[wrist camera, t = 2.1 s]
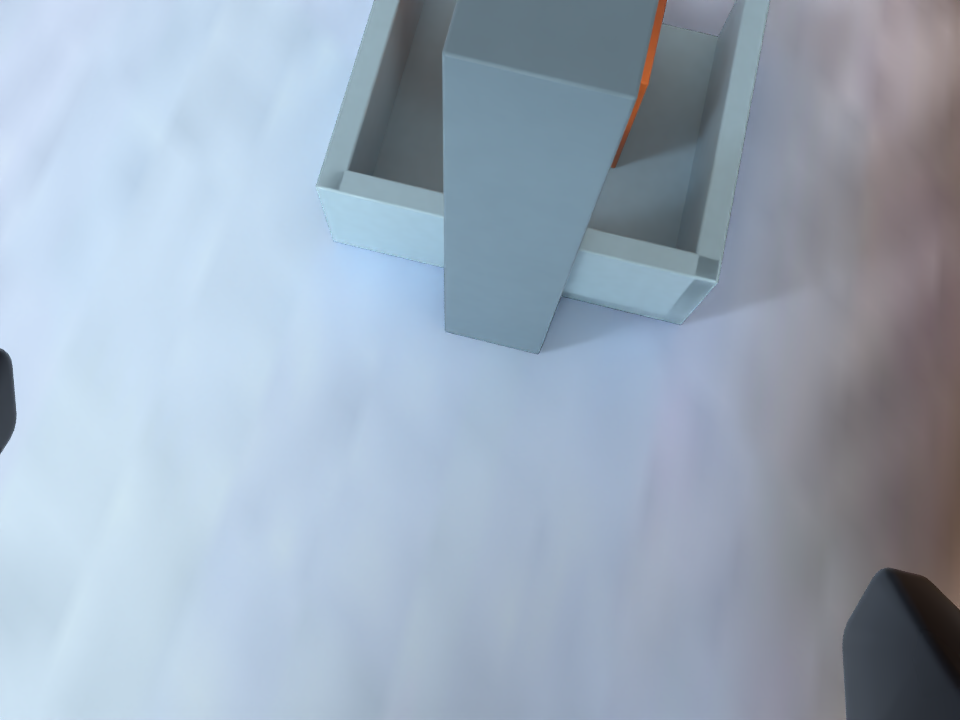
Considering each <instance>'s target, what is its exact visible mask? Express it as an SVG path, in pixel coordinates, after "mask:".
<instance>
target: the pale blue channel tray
mask: <svg viewBox="0 0 960 720" xmlns="http://www.w3.org/2000/svg"><path fill="white" fill-rule="evenodd" d="M658 2H659V0H374V2H373V6H372V9H371V12H370V15H369V18H368V22H367V25H366V28H365V31H364V34H363V38H362V41H361V44H360V47H359V50H358V54H357V57H356V60H355V63H354V66H353V70H352V73H351V76H350V79H349V82H348V85H347V89H346V92H345V95H344V98H343V101H342V105H341V108H340V111H339V114H338V117H337V121H336V124H335V127H334V130H333V133H332V137H331V140H330V143H329V146H328V149H327V153H326V156H325V159H324V162H323V165H322V168H321V171H320V174H319V178H318V181H317V184H316V189H317V192H318V195H319V198H320V201H321V204H322V208H323V211H324V214H325V217H326V220H327V223H328V226H329V229H330V232H331V235H332V239H333V241H335V242H339V243H343V244H347V245H351V246H355V247H359V248H363V249H368V250H372V251H376V252H380V253H384V254H388V255H393V256H397V257H401V258H405V259H409V260H413V261H417V262H422V263H426V264H430V265H434V266H438V267H442V268H444V314H445V331H446V332H449V333H453V334H457V335H461V336H465V337H470V338H474V339H478V340H482V341H486V342H490V343H494V344H498V345H503V346H507V347H511V348H515V349H519V350H523V351H527V352H531V353H536V354H539V352H540V350H541V347H542V344H543V342H544V339H545V337H546V334H547V331H548V329H549V326H550V324H551V321H552V318H553V316H554V313H555V311H556V308H557V305H558V303H559V300H560V298H561V296H563V297H567V298H571V299H575V300H579V301H584V302H588V303H592V304H596V305H600V306H604V307H609V308H613V309H617V310H621V311H625V312H629V313H633V314H638V315H642V316H646V317H650V318H654V319H658V320H663V321H667V322H671V323H675V324H679V325H681V324H682V323H683V322H684V321H685V320H686V319H687V318H688V316H689V315H690V314H691V313H692V312H693V311H694V310H695V308H696V307H697V306H698V305H699V304H700V303H701V302H702V300H703V299H704V298H705V297H706V296H707V295H708V294H709V292H710V291H711V290H712V289H713V288H714V287H715V286H716V284H717V283H718V280H719V275H720V269H721V264H722V258H723V253H724V247H725V242H726V236H727V231H728V226H729V220H730V215H731V209H732V204H733V199H734V193H735V188H736V182H737V177H738V172H739V166H740V161H741V155H742V150H743V145H744V139H745V134H746V128H747V123H748V118H749V112H750V107H751V101H752V96H753V91H754V85H755V80H756V74H757V69H758V64H759V58H760V53H761V47H762V42H763V37H764V31H765V26H766V20H767V15H768V10H769V4H770V0H736V2H735V4H734V6H733V8H732V10H731V12H730V14H729V16H728V18H727V20H726V22H725V24H724V26H723V28H722V30H721V32H720V34H719V37H718V36H714V35H709V34H705V33H701V32H696V31H692V30H688V29H683V28H679V27H675V26H671V25H666V24H662V25H661V30H660V35H659V39H658V44H657V48H656V53H655V57H654V62H653V67H652V71H651V76H650V80H649V84H648V87H647V89H646V92H645V94H644V97H643V100H642V102H641V105H640V107H639V110H638V112H637V115H636V117H635V120H634V122H633V125H632V127H631V130H630V132H629V135H628V137H627V140H626V142H625V145H624V147H623V150H622V152H621V155H620V157H619V160H618V163H617V165H616V167H615V168H611V165H612V163H613V160H614V157H615V155H616V152H617V150H618V147H619V144H620V142H621V139H622V137H623V134H624V131H625V129H626V126H627V124H628V121H629V118H630V116H631V113H632V111H633V108H634V105H635V103H636V100H637V97H638V93H639V88H640V84H641V79H642V75H643V70H644V66H645V61H646V57H647V52H648V48H649V43H650V38H651V34H652V29H653V25H654V20H655V16H656V11H657V7H658Z"/></svg>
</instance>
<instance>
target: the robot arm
mask: <svg viewBox="0 0 960 720" xmlns="http://www.w3.org/2000/svg"><path fill="white" fill-rule="evenodd" d="M15 424H16V402H15V391H14V379H13V368H12V361H11V358H10V356H9V355H8V353H7V352H5V351H4V350H3V349H0V454H1V452H2V451H3V449H4V448H5V446H6V444H7V443H8V441H9V440H10V438H11V436H12V434H13V431H14V428H15ZM843 666H844V684H845V702H846V720H960V610H959V609H958V608H957V607H956V606H955V605H954V604H953V603H952V602H951V601H950V600H949V599H948V598H947V597H946V596H945V595H944V594H943V593H942V592H941V591H940V590H939V589H938V588H937V587H936V586H935V585H934V584H933V583H932V582H931V581H929V580H928V579H927V578H925V577H923V576H921V575H918V574H914V573H909V572H905V571H901V570H897V569H893V568H884V569H881V570H880V571H878V572H877V573H876V574H875V576H874V577H873V578H872V580H871V582H870V584H869V585H868V587H867V589H866V591H865V592H864V594H863V596H862V598H861V599H860V601H859V603H858V604H857V606H856V608H855V610H854V611H853V613H852V615H851V617H850V618H849V620H848V622H847V624H846V627H845V630H844V635H843Z"/></svg>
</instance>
